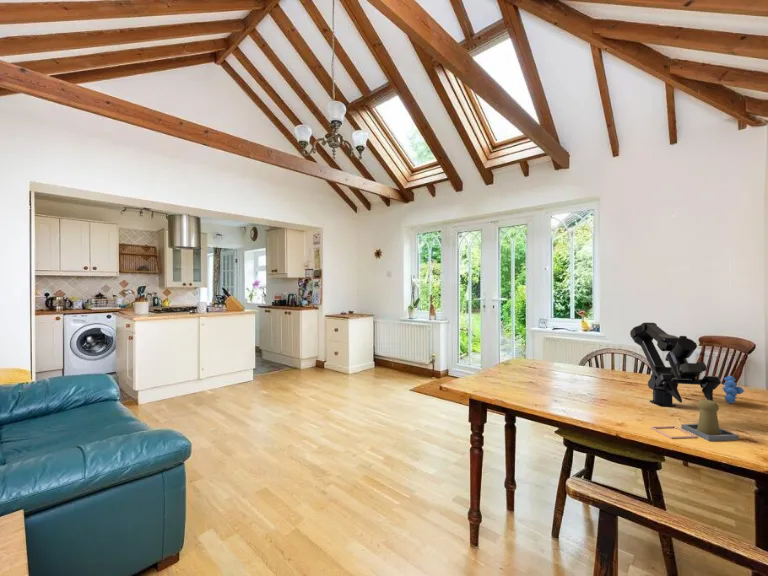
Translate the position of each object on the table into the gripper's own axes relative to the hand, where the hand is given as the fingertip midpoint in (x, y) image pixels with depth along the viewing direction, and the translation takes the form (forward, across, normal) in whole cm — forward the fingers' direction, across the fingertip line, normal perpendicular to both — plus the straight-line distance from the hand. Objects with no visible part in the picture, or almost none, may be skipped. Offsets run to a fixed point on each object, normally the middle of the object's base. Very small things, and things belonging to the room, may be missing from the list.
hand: (696, 403), depth 130 cm
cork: (+11, 0, +1) cm, 11 cm away
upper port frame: (+12, -11, 0) cm, 16 cm away
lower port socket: (+11, 0, 0) cm, 11 cm away
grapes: (-15, +28, +28) cm, 42 cm away
